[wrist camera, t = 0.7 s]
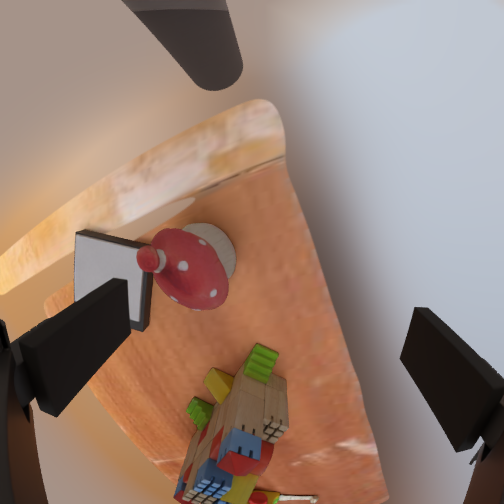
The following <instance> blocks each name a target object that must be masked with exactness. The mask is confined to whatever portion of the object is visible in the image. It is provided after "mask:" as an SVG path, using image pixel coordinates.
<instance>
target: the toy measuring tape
mask: <svg viewBox="0 0 504 504" xmlns="http://www.w3.org/2000/svg"><path fill="white" fill-rule="evenodd" d="M296 499H301V500H306V499H307V500H311V501H310V502H311V503H316V501H317V500H318V496H316V495H315V496H314V497H313V496H284V495H280V493H279V492H269V491H252V493H251V495H250V497H249V499H248V501H247V503H246V504H276V503H277V502H278V500H282V501H283V500H296Z"/></svg>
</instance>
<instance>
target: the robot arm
mask: <svg viewBox="0 0 504 504" xmlns="http://www.w3.org/2000/svg"><path fill="white" fill-rule="evenodd" d="M130 334H131V327H130V314H129V298H128V280H127V279H120V278H112V279H110V280H109V281H107V282H106V283H104V284H102V285H101V286H99V287H98V288H96V289H95V290H93V291H91V292H90V293H88V294H87V295H85V296H84V297H82V298H81V299H79V300H78V301H76V302H75V303H73V304H72V305H70V306H68V307H67V308H65V309H64V310H62V311H61V312H59V313H58V314H56V315H55V316H54V317H51V318H48V319H46V320H44V321H43V322H41V323H39V324H38V325H37V327H36V326H35V327H34V328H32V329H31V330H30V331H28V332H26V333H25V334H23V335H22V336H20V337H19V338H18V339H16V340H15V341H13V342H12V343H10V341H9V337H8V333H7V329H6V325H5V322H4V321H3V320H1V319H0V504H48V500H47V496H46V492H45V488H44V483H43V479H42V474H41V469H40V464H39V458H38V452H37V445H36V438H35V429H34V420H33V410H32V407H31V405H30V402H31V401H32V400H33V399H34V398H35V397H36V400H37V403H38V405H39V408H40V410H41V411H43V412H45V413H48V414H50V415H52V416H54V417H58V416H59V414H60V413H61V412H62V411H63V410H64V409H65V407H66V406H67V405H68V404H69V403H70V402H71V400H72V399H73V398H74V397H75V396H76V395H77V393H78V392H79V391H80V390H81V389H82V388H83V386H84V385H85V384H86V383H87V382H88V381H89V380H90V379H91V377H92V376H93V375H94V374H95V373H96V372H97V371H98V369H99V368H100V367H101V366H102V365H103V364H104V363H105V362H106V360H107V359H108V358H109V357H110V356H111V355H112V354H113V353H114V352H115V350H116V349H117V348H118V347H119V346H120V345H121V344H122V343H123V342H124V340H125V339H126V338H127V337H128V336H129V335H130ZM400 360H401V361H402V363H403V365H404V366H405V368H406V369H407V371H408V372H409V374H410V376H411V377H412V379H413V380H414V382H415V384H416V385H417V387H418V388H419V390H420V392H421V393H422V395H423V396H424V398H425V400H426V401H427V403H428V405H429V406H430V408H431V410H432V411H433V413H434V415H435V416H436V418H437V420H438V422H439V423H440V425H441V427H442V428H443V430H444V432H445V434H446V435H447V437H448V439H449V441H450V443H451V444H452V446H453V448H454V450H455V451H456V452H461V451H465V450H468V449H471V448H473V446H474V445H475V443H476V442H477V440H478V439H479V437H480V436H481V437H482V439H483V440H484V443H483V444H482V446H481V447H480V449H479V450H478V452H477V453H476V454H475V456H474V457H473V459H472V460H471V461H470V463H469V464H470V465H472V463H473V462H474V461H475V460H477V461H476V464H475V468H474V472H473V475H472V478H471V482H470V485H469V488H468V491H467V494H466V497H465V500H464V502H463V504H504V379H503V378H502V376H501V375H500V374H499V373H497V371H496V370H495V369H494V368H492V366H491V365H490V364H489V363H488V362H487V361H486V360H484V359H483V358H481V357H480V356H479V355H478V354H477V353H476V352H475V351H474V350H473V349H472V348H471V347H470V346H469V345H468V344H467V343H466V342H465V341H464V340H462V339H461V338H460V337H459V336H458V335H457V334H456V333H455V332H454V331H453V330H452V329H451V328H450V327H449V326H447V324H445V323H444V322H443V321H442V320H441V319H440V318H439V317H438V316H437V315H435V314H434V313H433V312H432V311H431V310H430V309H429V308H423V307H414V311H413V315H412V319H411V322H410V326H409V330H408V333H407V337H406V340H405V343H404V346H403V350H402V353H401V356H400Z"/></svg>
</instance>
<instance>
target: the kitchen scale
mask: <svg viewBox="0 0 504 504" xmlns="http://www.w3.org/2000/svg"><path fill="white" fill-rule="evenodd" d="M147 245H149V244H145V243H141V242H136V241H132V240H128V239H123V238H119V237H115V236H110V235H106V234H102V233H98V232H94V231H89V230H81V231H78V232H76V237H75V258H74V260H75V261H74V303H75V302H76V301H78V300H79V299H81V298H82V297H84V296H85V295H87V294H88V293H90V292H91V291H93V290H95V289H96V288H98V287H99V286H101V285H102V284H104V283H106V282H107V281H109V280H110V279H112V278H120V279H127V280H128V298H129V314H130V327H131V329H135V330H138V331H141V332H143V331H144V330H145V329H146V328H147V327H148V326H149V317H150V305H151V293H152V283H153V273H152V272H145V271H143V270H142V269H140V267H139V265H138V263H137V259H136V255H137V251H138V250H139V249H140V248H141V247H143V246H147ZM149 246H150V245H149Z"/></svg>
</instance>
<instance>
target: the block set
mask: <svg viewBox="0 0 504 504" xmlns="http://www.w3.org/2000/svg"><path fill="white" fill-rule="evenodd" d="M278 355H279V354H278V353H277V352H275V351H273V350H271V349H268V348H266V347H264V346H262V345H260V344H256V345H255V347H254V348H253V350H252V351H251V353H250V354H249V356H248V358H247V359H246V361H245V362H244V363H243V365H242V366H241V368H240V369H239V371H238V372H237V374H236V375H235V377H232V376H230V375H228V374H226V373H224V372H221V371H219V370H217V369H215V368H213V367H212V369H211V370H210V372H209V373H208V375H207V376H206V378H205V380H204V384H205V385H206V387H207V388H208V389H209V391H210V392H211V393H212V395H213V396H214V398H215V399H216V400H217V402H216V404H215V405H214V406H212V405H210V404H208V403H206V402H204V401H202V400H200V399H198V398H196V397H194V398H193V400H192V401H191V403H190V404H189V406H188V408H187V410H186V412H187V413H189V414H190V418H191V419H193V420H194V422H193V423H194V424H196V425H198V427H197V429H198V430H197V432H196V433H195V435H194V436H193V438H192V439H191V442H190V445H189V448H188V451H187V454H186V457H185V460H184V464H183V466H182V469H181V472H180V476H179V479H178V484H177V487H176V491H175V494H174V499H176V500H177V501H178V502H180V503H181V504H199V503H200V502H201V504H246V503H247V501H248V499H249V497H250V495H251V493H252V491H253V489H254V487H255V485H256V483H257V480H258V478H259V476H261V475H262V473H263V472H264V471H265V469H266V468H267V466H268V464H269V462H270V460H271V457H272V454H273V449H274V444H275V442H276V441H277V440H278V437H281V436H282V435H283V434H284V432H283V431H286V430H287V429H288V428H289V420H288V402H287V384H286V380H285V379H283V378H281V377H279V376H277V375H275V374H272V368H273V367H274V365H275V361H276V359H277V358H278Z"/></svg>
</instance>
